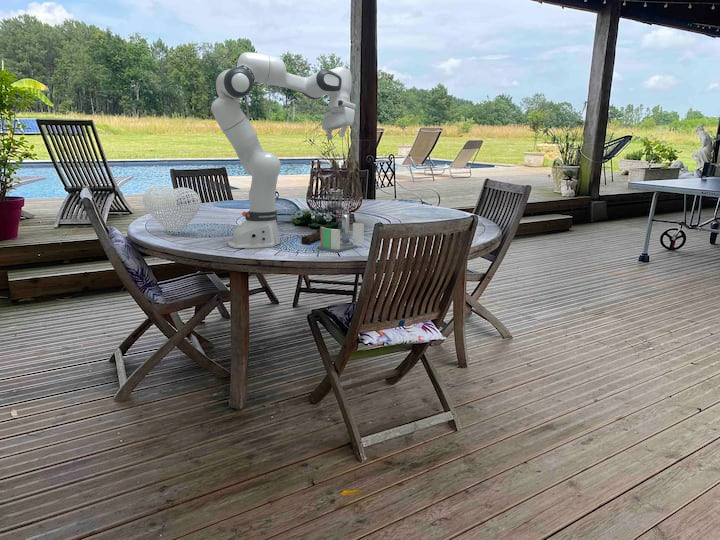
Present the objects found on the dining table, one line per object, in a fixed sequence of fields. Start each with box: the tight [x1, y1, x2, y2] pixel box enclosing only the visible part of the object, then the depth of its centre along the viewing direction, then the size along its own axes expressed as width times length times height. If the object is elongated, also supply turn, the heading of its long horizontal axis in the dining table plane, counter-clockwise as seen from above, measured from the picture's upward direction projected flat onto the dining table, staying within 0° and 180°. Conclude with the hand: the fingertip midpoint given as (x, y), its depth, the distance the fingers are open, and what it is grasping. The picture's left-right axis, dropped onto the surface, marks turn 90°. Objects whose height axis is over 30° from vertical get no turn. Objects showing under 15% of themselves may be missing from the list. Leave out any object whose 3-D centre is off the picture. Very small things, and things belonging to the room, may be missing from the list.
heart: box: [142, 185, 201, 233], centre depth 233 cm, size 28×16×22 cm, turn 65°
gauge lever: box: [336, 213, 365, 244], centre depth 208 cm, size 15×9×12 cm, turn 169°
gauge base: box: [316, 226, 358, 254], centre depth 212 cm, size 15×11×9 cm
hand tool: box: [300, 228, 321, 245], centre depth 226 cm, size 19×4×5 cm, turn 154°
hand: (335, 138), depth 221 cm, fingers open, 8 cm apart
